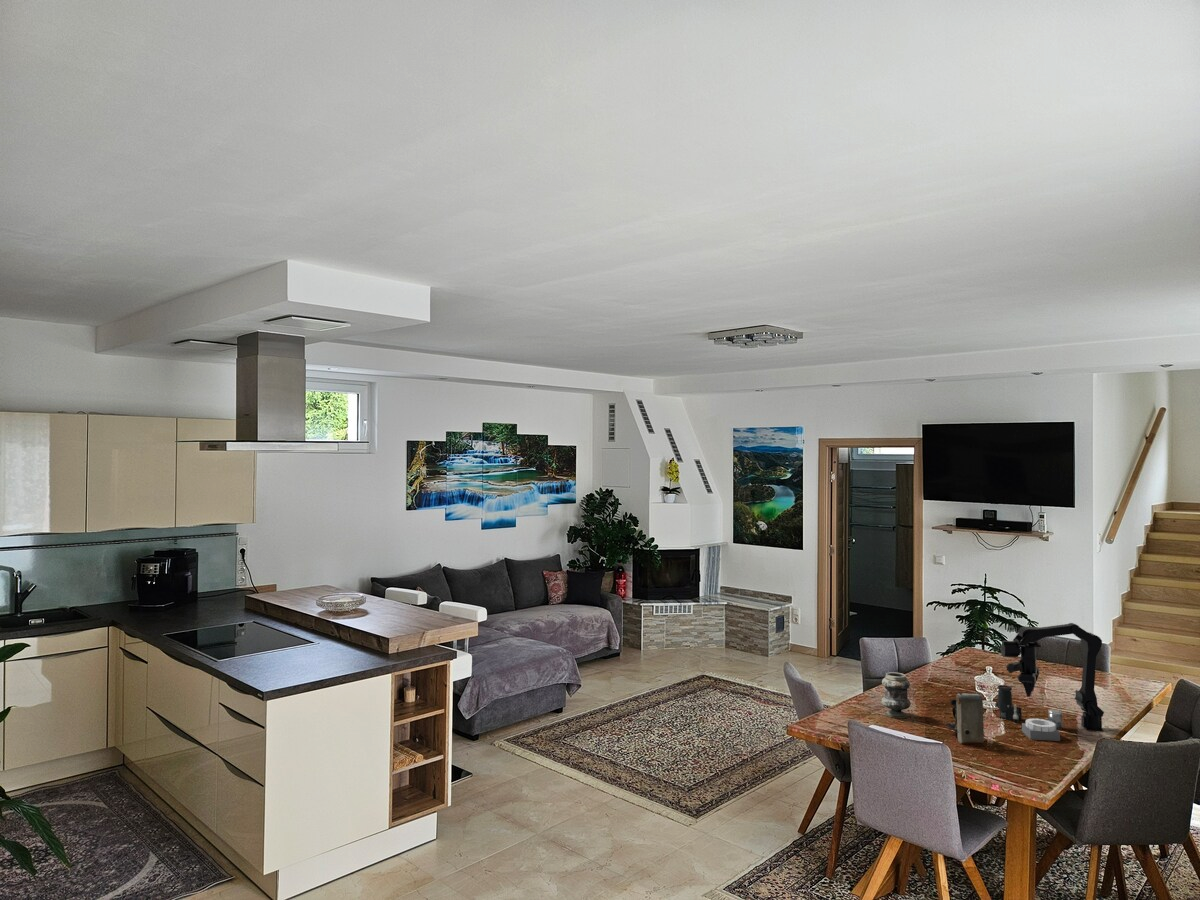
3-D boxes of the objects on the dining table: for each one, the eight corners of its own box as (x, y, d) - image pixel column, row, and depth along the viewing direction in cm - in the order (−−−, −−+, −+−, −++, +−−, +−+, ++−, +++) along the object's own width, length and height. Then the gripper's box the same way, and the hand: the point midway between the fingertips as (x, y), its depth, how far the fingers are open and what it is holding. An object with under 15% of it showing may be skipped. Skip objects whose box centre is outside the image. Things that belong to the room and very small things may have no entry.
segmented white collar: (1050, 732, 327) (1050, 719, 327) (1060, 741, 316) (1060, 727, 317) (1021, 731, 329) (1021, 717, 329) (1030, 739, 318) (1030, 725, 319)
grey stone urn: (909, 712, 355) (908, 671, 355) (912, 720, 343) (911, 678, 344) (880, 709, 358) (880, 670, 358) (882, 717, 346) (882, 676, 347)
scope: (1016, 691, 339) (992, 686, 346) (1017, 723, 338) (992, 718, 345) (1022, 687, 345) (998, 683, 352) (1023, 719, 344) (998, 714, 351)
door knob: (1059, 726, 335) (1059, 709, 335) (1064, 730, 330) (1063, 713, 330) (1046, 725, 336) (1046, 709, 336) (1051, 729, 331) (1051, 712, 331)
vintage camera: (966, 733, 328) (963, 684, 329) (985, 744, 312) (983, 693, 314) (943, 733, 327) (941, 685, 329) (961, 745, 312) (959, 694, 313)
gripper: (1010, 650, 349) (1011, 686, 349) (1004, 659, 334) (1005, 696, 333) (1038, 653, 343) (1040, 689, 343) (1033, 662, 328) (1035, 700, 327)
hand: (1029, 693), depth 337 cm, fingers open, 9 cm apart
